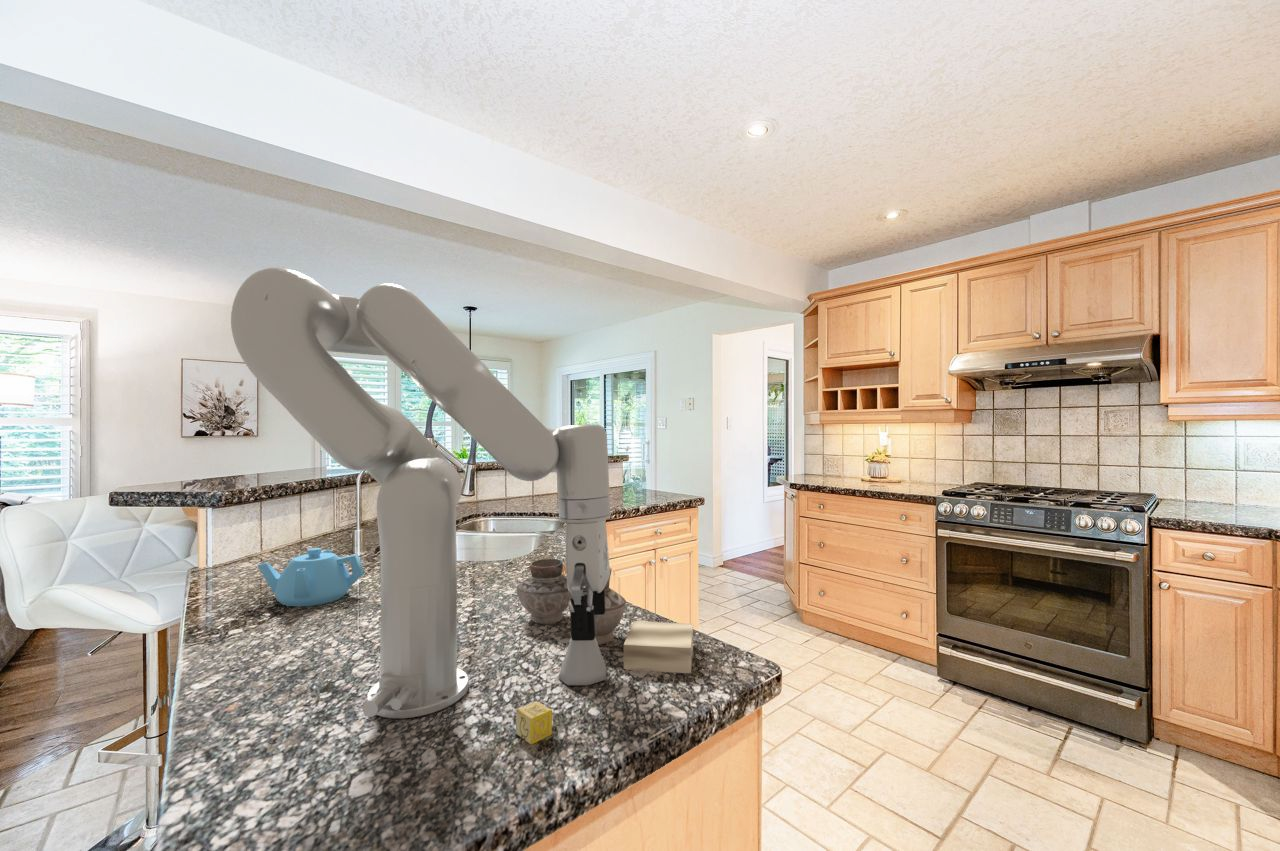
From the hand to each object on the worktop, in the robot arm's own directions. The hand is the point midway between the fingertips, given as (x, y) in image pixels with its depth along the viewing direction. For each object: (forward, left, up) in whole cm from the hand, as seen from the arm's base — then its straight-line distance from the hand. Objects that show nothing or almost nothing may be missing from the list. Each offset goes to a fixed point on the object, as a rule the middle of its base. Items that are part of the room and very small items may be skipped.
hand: (589, 626), depth 76 cm
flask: (0, +1, -7) cm, 7 cm away
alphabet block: (-15, +4, -7) cm, 17 cm away
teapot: (+32, +66, -7) cm, 74 cm away
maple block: (+7, -10, -7) cm, 14 cm away
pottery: (+18, +7, -7) cm, 21 cm away
